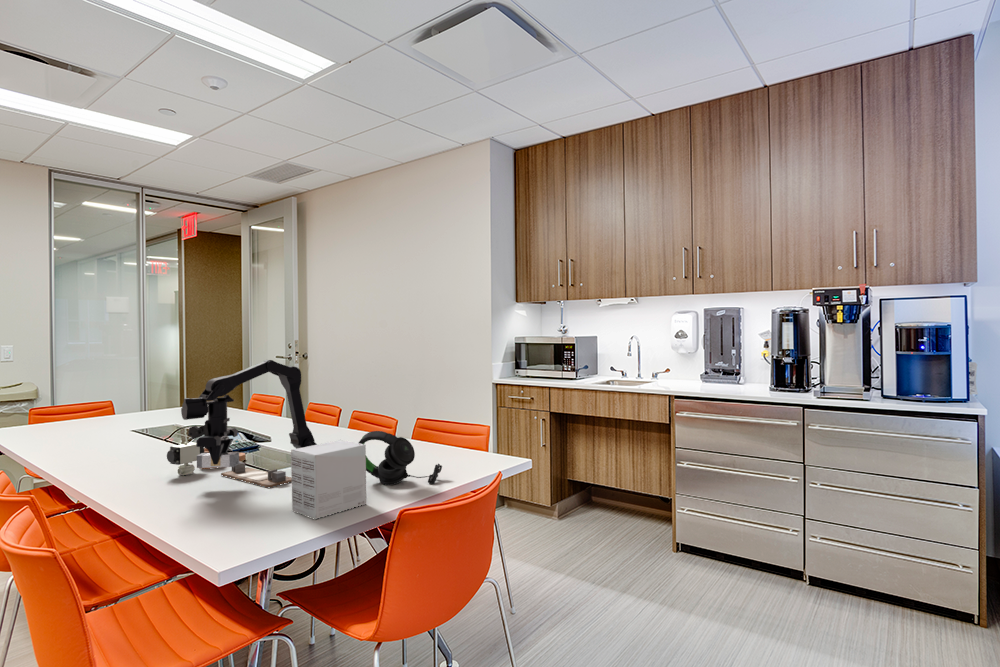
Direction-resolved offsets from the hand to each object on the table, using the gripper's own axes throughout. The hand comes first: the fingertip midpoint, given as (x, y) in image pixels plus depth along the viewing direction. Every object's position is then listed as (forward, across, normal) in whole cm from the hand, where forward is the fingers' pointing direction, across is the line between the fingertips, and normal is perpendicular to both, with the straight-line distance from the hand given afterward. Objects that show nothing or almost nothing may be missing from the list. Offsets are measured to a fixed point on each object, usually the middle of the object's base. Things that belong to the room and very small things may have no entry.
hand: (218, 462), depth 182 cm
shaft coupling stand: (+8, -10, +9) cm, 16 cm away
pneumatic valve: (+8, -20, -20) cm, 30 cm away
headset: (+8, +2, +60) cm, 60 cm away
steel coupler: (+1, 0, 0) cm, 1 cm away
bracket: (+9, -35, -12) cm, 38 cm away
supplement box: (+9, +27, +42) cm, 51 cm away
